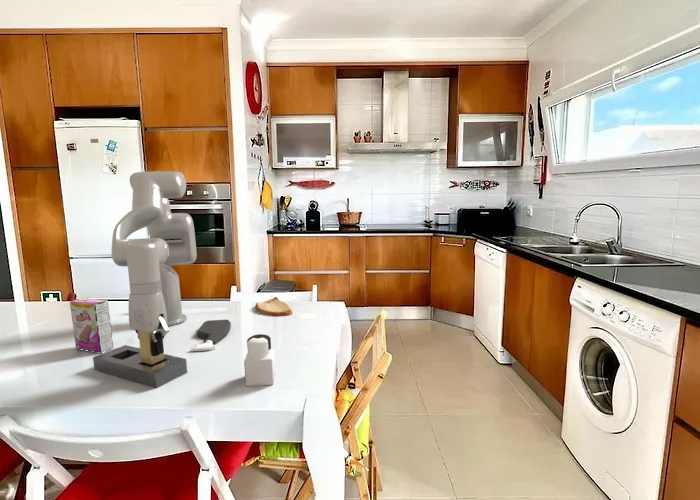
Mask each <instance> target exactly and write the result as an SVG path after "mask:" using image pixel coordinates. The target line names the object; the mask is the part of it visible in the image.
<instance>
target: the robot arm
mask: <svg viewBox="0 0 700 500" xmlns="http://www.w3.org/2000/svg"><path fill="white" fill-rule="evenodd" d="M129 185H130V187H131V189H132V204H131V210H130V211H129V212H127V213H126V214H125V215H124V216H123V217H122V218H121V219H120V220H119V221H118V222H117V224H116V225H115V227H114V228H113V232H112V240H111V241H112V242H111V258H112V261H113V263H114V264H115V265H116V266H118V267H123V268H124V267H127V272H128V273H127V274H128V283H129V291H130V292H129V295H128V296H129V297H128V323H129V328H131V329H132V330H134V331H135V333H136V334H137V339H138V340H139V331H144V332H149V333H151V335H152V340H153V342H151V345H152V355H153V356H157V355H160V354H162V353H164V354H165V350H164V349H165V348H164V340H165V336H166V335H167V334H168V333H169V332H170V328H169V327H171V326H176V325H178V324H182V323H184V322H186V321H187V315H185V314H183V311H182V310H183V309H182V301H181V300H182V298H181V289H180V286H181V285H180V277H179V274H178V273H177V271H176V270H175V269H174V268H173V267H172V266H180V265H183V266H184V265H190V264H194V263H195V262H196V260H197V255H198V253H197V244H196V243H197V242H196V232H195V226H194V219H193V218H192V216H191V215H190V214H189V213H185V212H175V213H174V212H173V213H172V212H171V204H170V200H169V199H182V198H183V196H184V195H185V194H186V191H187V182H186V177H185V176H184V174H183V173H182V172H181V171H138V172H133V173H131V175H130V177H129ZM144 228H146V229H147V233H148V235H149V238H132V239H131V238H129V236H131V235H132V234H134V233H135V232H137V231H140V230H142V229H144ZM127 238H129V239H127ZM138 330H139V331H138ZM156 332H159V333H158V334H157V335H156ZM140 351H141V350H140Z"/></svg>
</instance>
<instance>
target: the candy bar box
mask: <svg viewBox="0 0 700 500" xmlns="http://www.w3.org/2000/svg"><path fill="white" fill-rule="evenodd" d="M69 307H70V315H71V319H72V329H73V335H74V342H75V349H76V348H77V349H83V350H88V351H94V352H93V353H95V352H100V353H99V354H102V353H101V352H104V351H106V352H108V351H110V350H113V349H114V342H113V333H112V325H111V317H110V308H109V301H108V300H105V299H96V298H95V299H93V298H87V297H81V298H78V299H75V300H71V301H70V302H69ZM112 348H113V349H112ZM109 349H110V350H109ZM107 350H108V351H107ZM88 351H87V352H88ZM104 353H105V352H104Z"/></svg>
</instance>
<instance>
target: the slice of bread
mask: <svg viewBox="0 0 700 500" xmlns="http://www.w3.org/2000/svg"><path fill="white" fill-rule="evenodd" d="M254 309H255V311H256V312H257V313H258V312H259V314H262V315H264V316H270V317H288V316H292V315H293V310H292V309H291V306H290V305H288V304H287V303H285V302H284V301H282V300H280V299H279V298H275V297H274V298H271V299H270V298H269V299H268V300H265V301H263V302H256V304H255V306H254Z"/></svg>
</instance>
